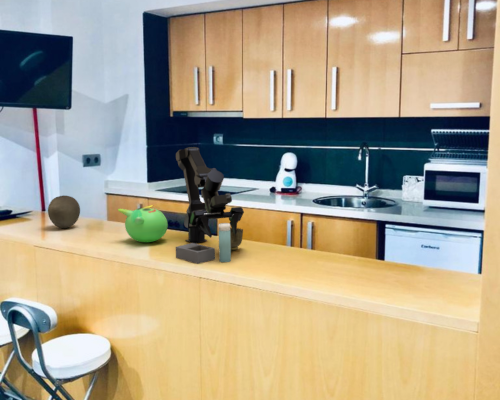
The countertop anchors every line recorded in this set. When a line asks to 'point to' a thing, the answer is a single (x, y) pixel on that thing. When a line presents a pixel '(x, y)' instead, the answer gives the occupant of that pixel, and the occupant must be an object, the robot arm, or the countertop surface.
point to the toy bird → (145, 224)
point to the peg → (224, 242)
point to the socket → (195, 253)
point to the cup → (235, 239)
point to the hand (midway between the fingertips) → (223, 235)
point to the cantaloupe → (64, 211)
